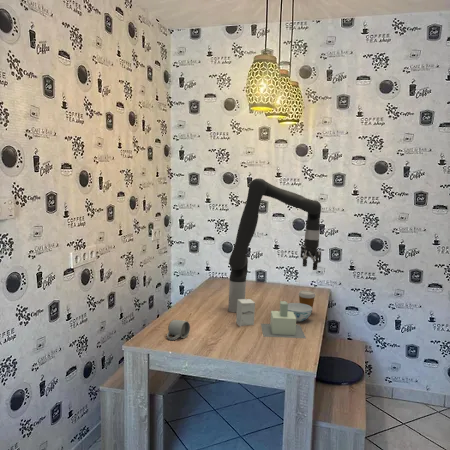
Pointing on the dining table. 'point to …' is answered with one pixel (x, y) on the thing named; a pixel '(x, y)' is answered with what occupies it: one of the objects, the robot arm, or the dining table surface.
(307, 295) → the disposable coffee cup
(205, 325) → the dining table surface
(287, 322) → the sage cover
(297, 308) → the chinaware
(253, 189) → the robot arm
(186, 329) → the ceramic mug
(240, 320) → the supplement box
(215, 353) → the dining table surface
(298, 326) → the grey mat
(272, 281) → the dining table surface
